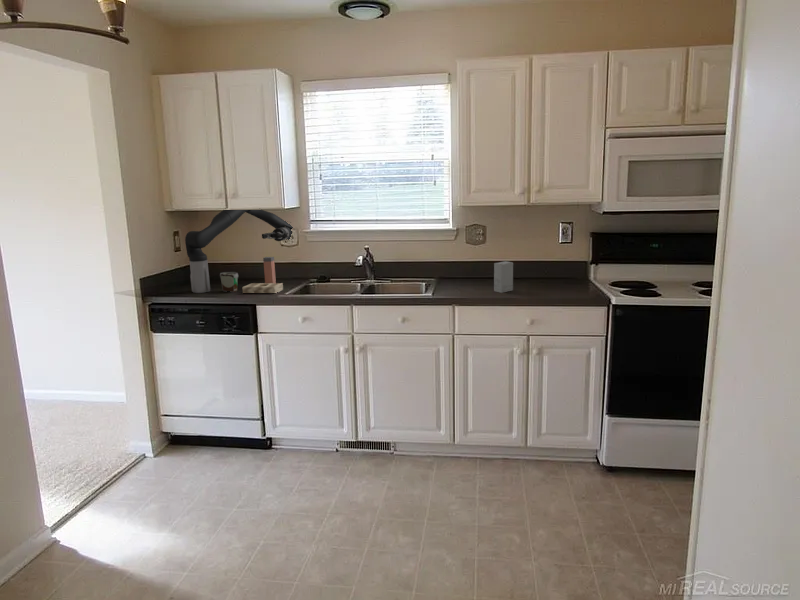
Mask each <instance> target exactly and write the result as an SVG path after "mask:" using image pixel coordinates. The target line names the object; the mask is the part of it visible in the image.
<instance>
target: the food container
mask: <svg viewBox="0 0 800 600" xmlns="http://www.w3.org/2000/svg"><path fill="white" fill-rule="evenodd" d="M219 278H220V281H221V289H222V292H227V291H230V292H229V293H237V292H238V289H239V288H238V286H239V285H238V278H239V273H238V272H236V271H224V272H220V273H219ZM236 291H237V292H236Z"/></svg>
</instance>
